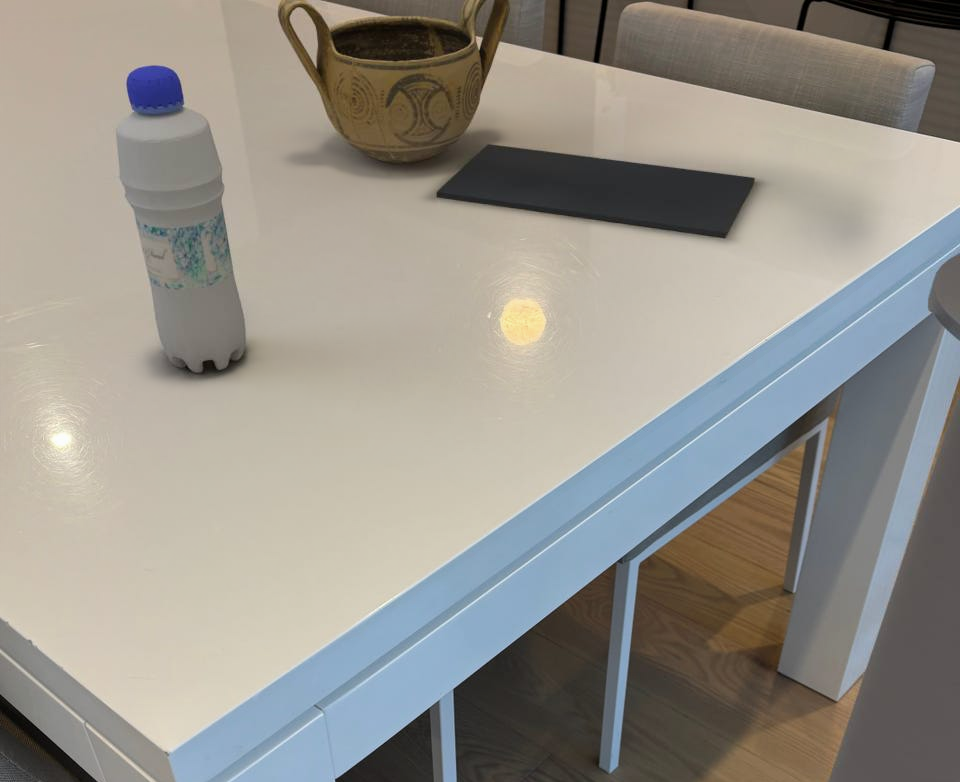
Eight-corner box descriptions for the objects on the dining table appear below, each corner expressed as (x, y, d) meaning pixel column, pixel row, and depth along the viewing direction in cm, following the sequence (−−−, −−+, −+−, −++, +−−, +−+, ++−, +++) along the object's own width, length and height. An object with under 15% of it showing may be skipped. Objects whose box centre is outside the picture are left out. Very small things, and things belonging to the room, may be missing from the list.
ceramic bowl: (315, 195, 104) (296, 21, 94) (281, 138, 116) (261, -22, 106) (531, 166, 109) (535, -2, 99) (477, 115, 121) (476, -40, 111)
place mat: (754, 182, 106) (755, 177, 105) (725, 237, 96) (726, 232, 96) (487, 148, 113) (487, 143, 113) (436, 196, 104) (436, 191, 103)
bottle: (147, 354, 81) (78, 64, 68) (226, 328, 84) (176, 45, 71) (187, 389, 77) (122, 90, 64) (269, 361, 80) (224, 69, 67)
